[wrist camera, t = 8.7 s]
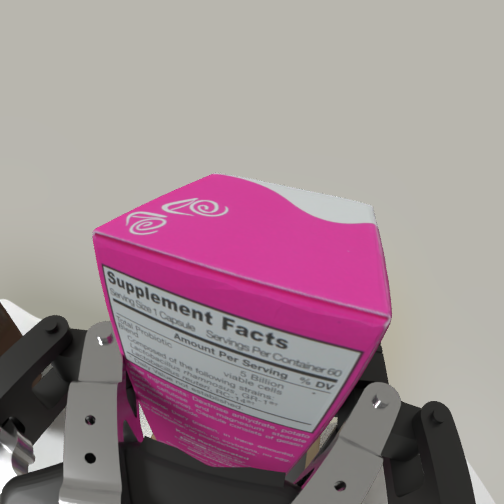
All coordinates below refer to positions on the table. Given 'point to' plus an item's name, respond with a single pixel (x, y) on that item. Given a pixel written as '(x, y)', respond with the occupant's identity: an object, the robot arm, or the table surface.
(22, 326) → the table surface
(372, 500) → the table surface
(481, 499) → the table surface
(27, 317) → the table surface
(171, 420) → the supplement box
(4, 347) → the alarm clock
